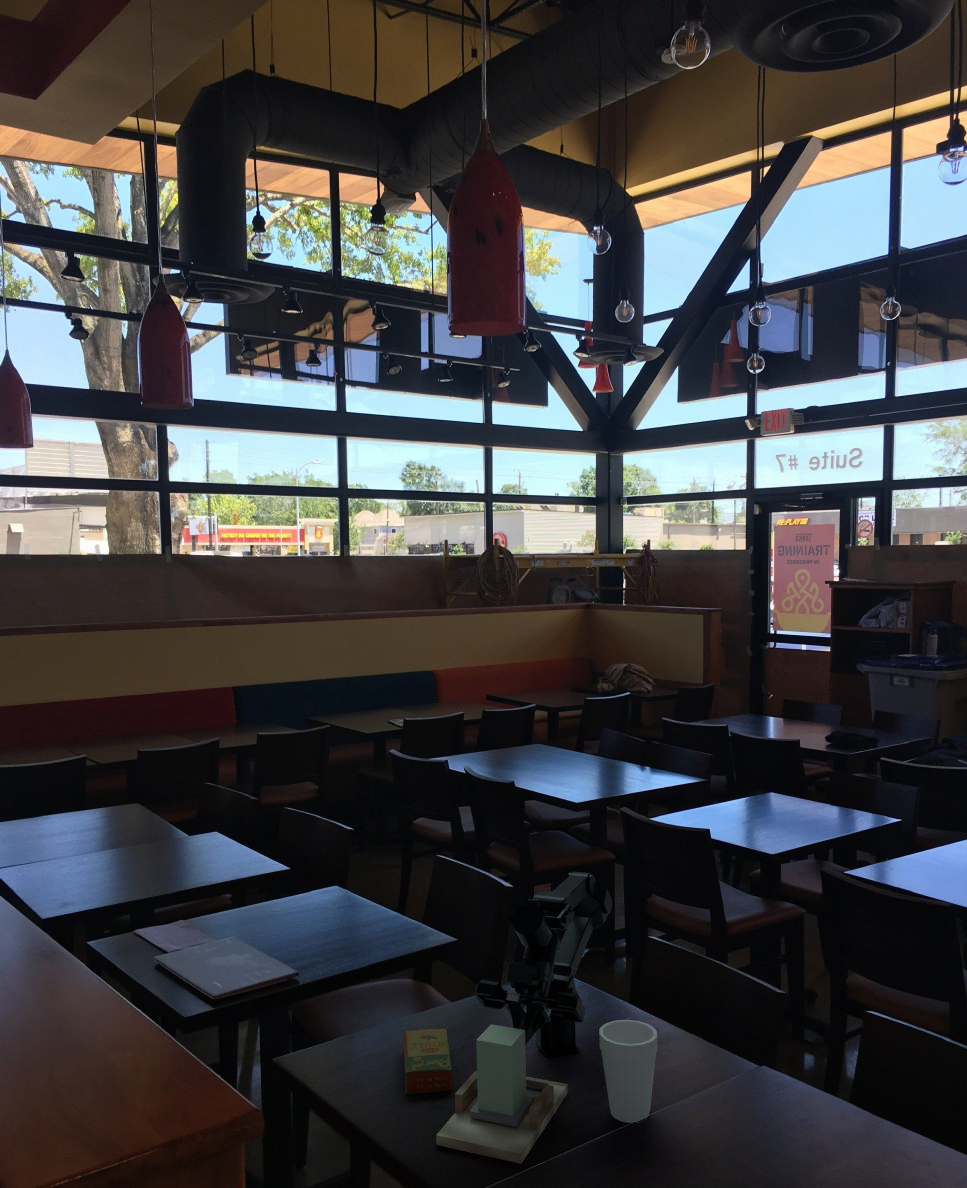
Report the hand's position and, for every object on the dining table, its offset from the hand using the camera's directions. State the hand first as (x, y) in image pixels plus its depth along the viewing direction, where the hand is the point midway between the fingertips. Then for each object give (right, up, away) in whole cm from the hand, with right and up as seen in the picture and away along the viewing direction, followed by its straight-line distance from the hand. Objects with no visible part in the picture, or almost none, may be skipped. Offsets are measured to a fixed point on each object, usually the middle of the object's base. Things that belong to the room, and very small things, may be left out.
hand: (517, 1050), depth 162 cm
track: (-2, -8, -6) cm, 10 cm away
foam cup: (+18, -8, -5) cm, 20 cm away
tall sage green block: (-3, -6, -6) cm, 9 cm away
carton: (-16, -9, +11) cm, 21 cm away
